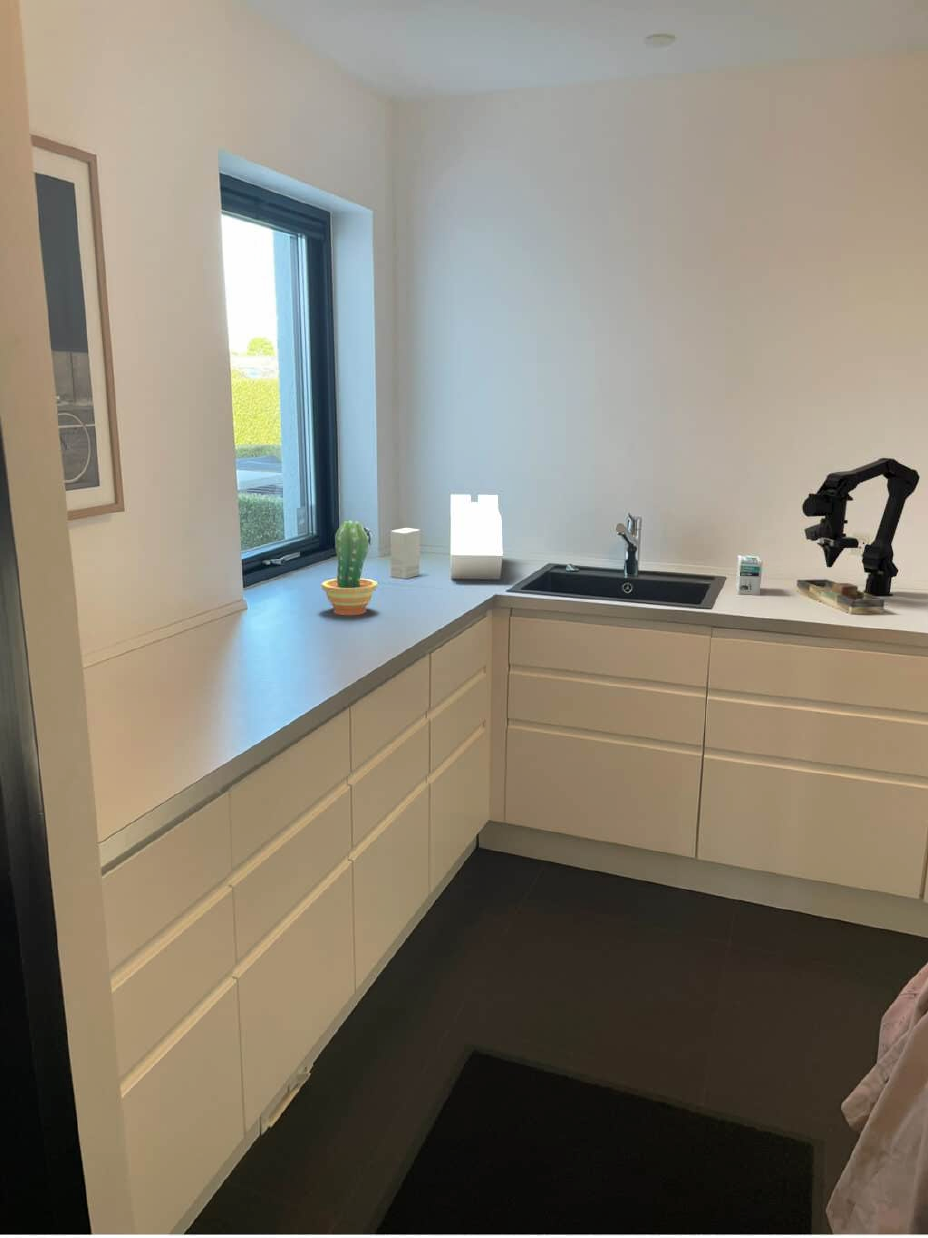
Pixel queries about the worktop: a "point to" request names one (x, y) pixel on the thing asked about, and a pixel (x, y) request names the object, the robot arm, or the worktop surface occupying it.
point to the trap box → (840, 597)
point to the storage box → (475, 538)
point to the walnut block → (845, 590)
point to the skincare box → (405, 553)
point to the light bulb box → (748, 575)
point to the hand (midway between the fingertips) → (829, 567)
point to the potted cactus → (350, 571)
